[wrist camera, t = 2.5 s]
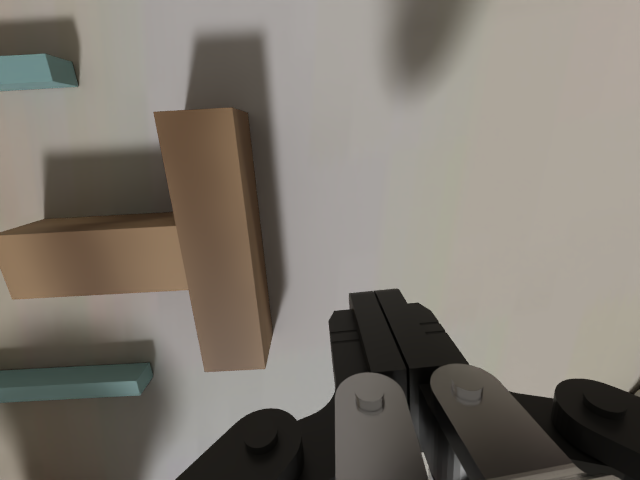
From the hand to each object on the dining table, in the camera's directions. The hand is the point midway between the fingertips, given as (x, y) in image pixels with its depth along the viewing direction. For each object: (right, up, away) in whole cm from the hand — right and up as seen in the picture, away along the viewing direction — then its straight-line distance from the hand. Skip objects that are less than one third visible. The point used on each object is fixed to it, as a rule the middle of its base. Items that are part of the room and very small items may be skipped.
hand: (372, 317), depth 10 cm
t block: (-10, +2, +7) cm, 13 cm away
